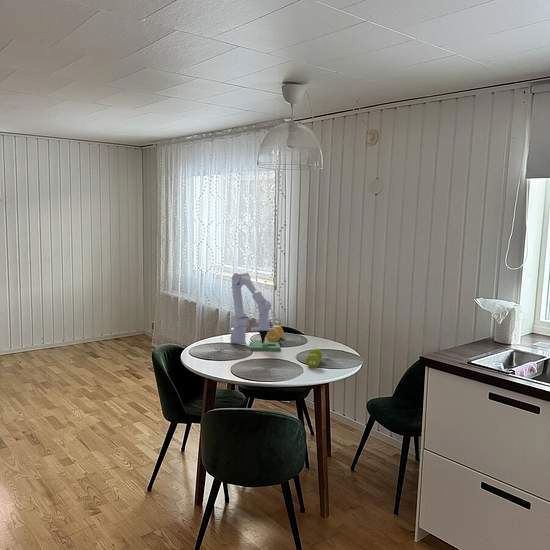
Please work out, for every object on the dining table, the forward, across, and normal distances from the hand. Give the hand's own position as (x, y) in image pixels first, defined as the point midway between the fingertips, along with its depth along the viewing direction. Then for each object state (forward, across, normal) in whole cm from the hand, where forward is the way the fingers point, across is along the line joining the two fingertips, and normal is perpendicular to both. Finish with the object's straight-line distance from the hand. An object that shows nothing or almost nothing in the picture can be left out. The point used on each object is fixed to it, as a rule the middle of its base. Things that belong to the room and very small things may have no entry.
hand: (262, 343), depth 310 cm
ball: (0, +1, 0) cm, 1 cm away
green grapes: (+4, +26, -32) cm, 42 cm away
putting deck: (+3, +1, 0) cm, 3 cm away
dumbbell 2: (+3, +9, +21) cm, 24 cm away
